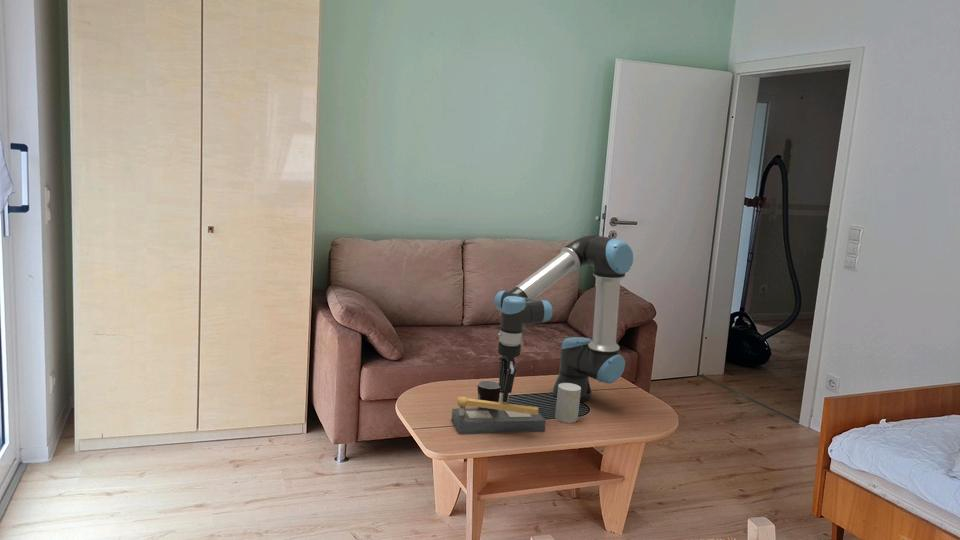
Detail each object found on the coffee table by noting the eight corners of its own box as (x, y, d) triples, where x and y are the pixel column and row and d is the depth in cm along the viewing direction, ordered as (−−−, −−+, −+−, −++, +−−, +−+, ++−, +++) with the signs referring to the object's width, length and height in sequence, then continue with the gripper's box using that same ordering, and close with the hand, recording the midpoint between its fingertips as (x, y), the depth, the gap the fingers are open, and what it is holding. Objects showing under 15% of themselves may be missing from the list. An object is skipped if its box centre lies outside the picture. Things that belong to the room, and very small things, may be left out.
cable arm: (456, 405, 245) (456, 399, 244) (458, 401, 248) (458, 395, 248) (537, 416, 241) (537, 409, 241) (538, 412, 244) (538, 406, 244)
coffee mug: (496, 416, 259) (499, 390, 257) (473, 413, 260) (475, 386, 258) (502, 405, 270) (504, 380, 268) (479, 402, 271) (481, 376, 270)
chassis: (533, 417, 260) (535, 398, 259) (544, 431, 249) (546, 410, 248) (451, 419, 253) (453, 399, 252) (458, 433, 241) (460, 412, 240)
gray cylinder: (563, 424, 257) (566, 391, 255) (550, 415, 264) (553, 383, 262) (582, 421, 261) (585, 389, 259) (569, 413, 268) (572, 382, 266)
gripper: (494, 336, 247) (487, 402, 252) (503, 348, 235) (496, 417, 240) (515, 337, 249) (508, 402, 254) (526, 349, 237) (518, 417, 242)
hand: (502, 409), depth 247 cm, fingers closed
